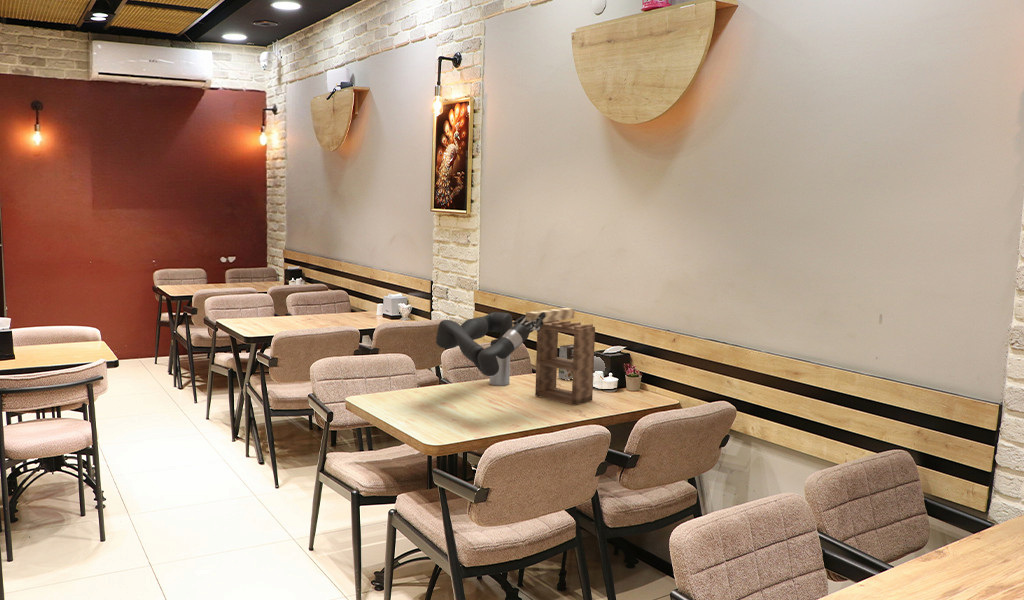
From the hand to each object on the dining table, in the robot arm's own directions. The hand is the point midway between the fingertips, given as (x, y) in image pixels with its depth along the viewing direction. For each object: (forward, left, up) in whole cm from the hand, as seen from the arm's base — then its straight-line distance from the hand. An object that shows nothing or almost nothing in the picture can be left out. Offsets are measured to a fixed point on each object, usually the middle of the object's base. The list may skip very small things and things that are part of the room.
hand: (539, 313), depth 322 cm
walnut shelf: (-15, +14, -39) cm, 44 cm away
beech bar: (-4, +5, -3) cm, 7 cm away
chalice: (-34, +37, -39) cm, 64 cm away
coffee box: (-52, +24, -39) cm, 70 cm away
